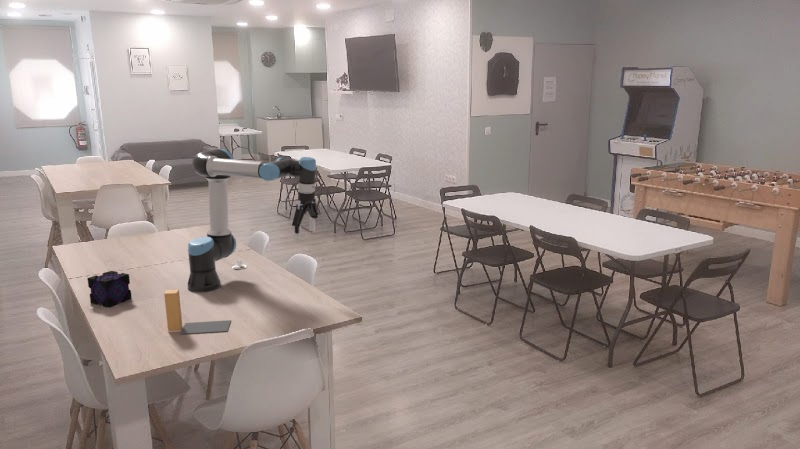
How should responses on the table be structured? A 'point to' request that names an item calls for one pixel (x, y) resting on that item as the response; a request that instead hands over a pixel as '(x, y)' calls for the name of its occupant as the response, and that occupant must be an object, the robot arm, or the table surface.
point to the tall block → (173, 310)
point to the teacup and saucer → (238, 265)
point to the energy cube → (109, 288)
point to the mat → (205, 327)
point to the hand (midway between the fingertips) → (304, 235)
